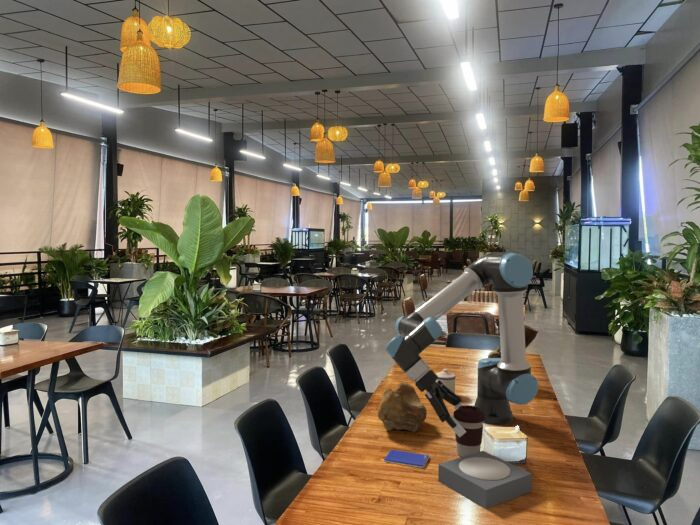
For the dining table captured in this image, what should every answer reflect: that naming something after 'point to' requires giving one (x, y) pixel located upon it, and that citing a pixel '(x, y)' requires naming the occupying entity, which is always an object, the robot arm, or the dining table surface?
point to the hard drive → (407, 458)
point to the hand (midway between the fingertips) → (467, 427)
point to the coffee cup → (469, 429)
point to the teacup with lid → (447, 379)
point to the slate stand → (485, 478)
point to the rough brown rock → (401, 408)
